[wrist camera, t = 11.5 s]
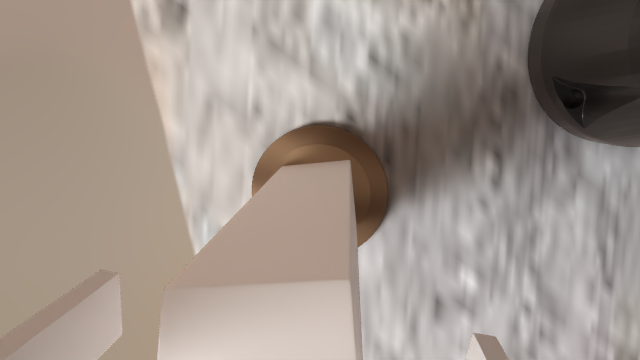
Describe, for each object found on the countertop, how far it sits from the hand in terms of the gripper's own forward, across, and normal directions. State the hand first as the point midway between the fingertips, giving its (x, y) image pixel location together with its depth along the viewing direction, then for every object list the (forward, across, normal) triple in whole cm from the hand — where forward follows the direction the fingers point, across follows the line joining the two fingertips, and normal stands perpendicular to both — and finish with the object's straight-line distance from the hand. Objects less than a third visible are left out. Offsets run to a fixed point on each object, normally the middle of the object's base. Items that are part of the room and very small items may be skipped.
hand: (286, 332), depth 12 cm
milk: (+18, -1, 0) cm, 18 cm away
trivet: (+18, -1, 0) cm, 18 cm away
